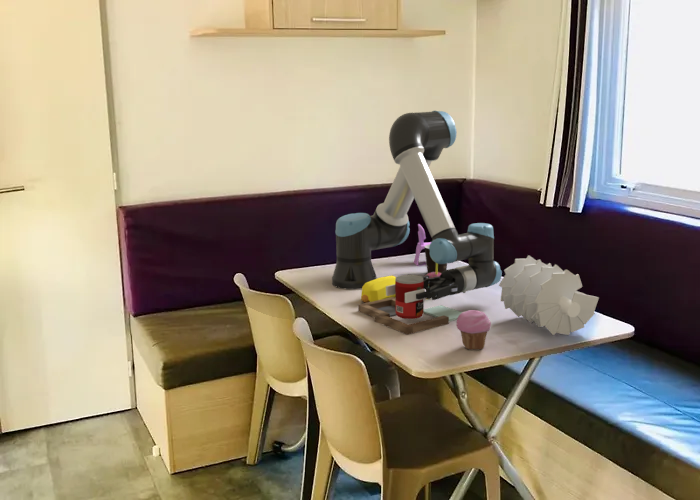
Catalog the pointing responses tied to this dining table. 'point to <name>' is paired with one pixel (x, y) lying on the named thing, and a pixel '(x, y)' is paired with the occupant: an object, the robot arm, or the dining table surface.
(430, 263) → the coffee mug
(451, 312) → the pad
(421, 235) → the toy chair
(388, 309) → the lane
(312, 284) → the dining table surface
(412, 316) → the canned food
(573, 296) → the spiral staircase
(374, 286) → the yellow faceted block
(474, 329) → the cupcake
